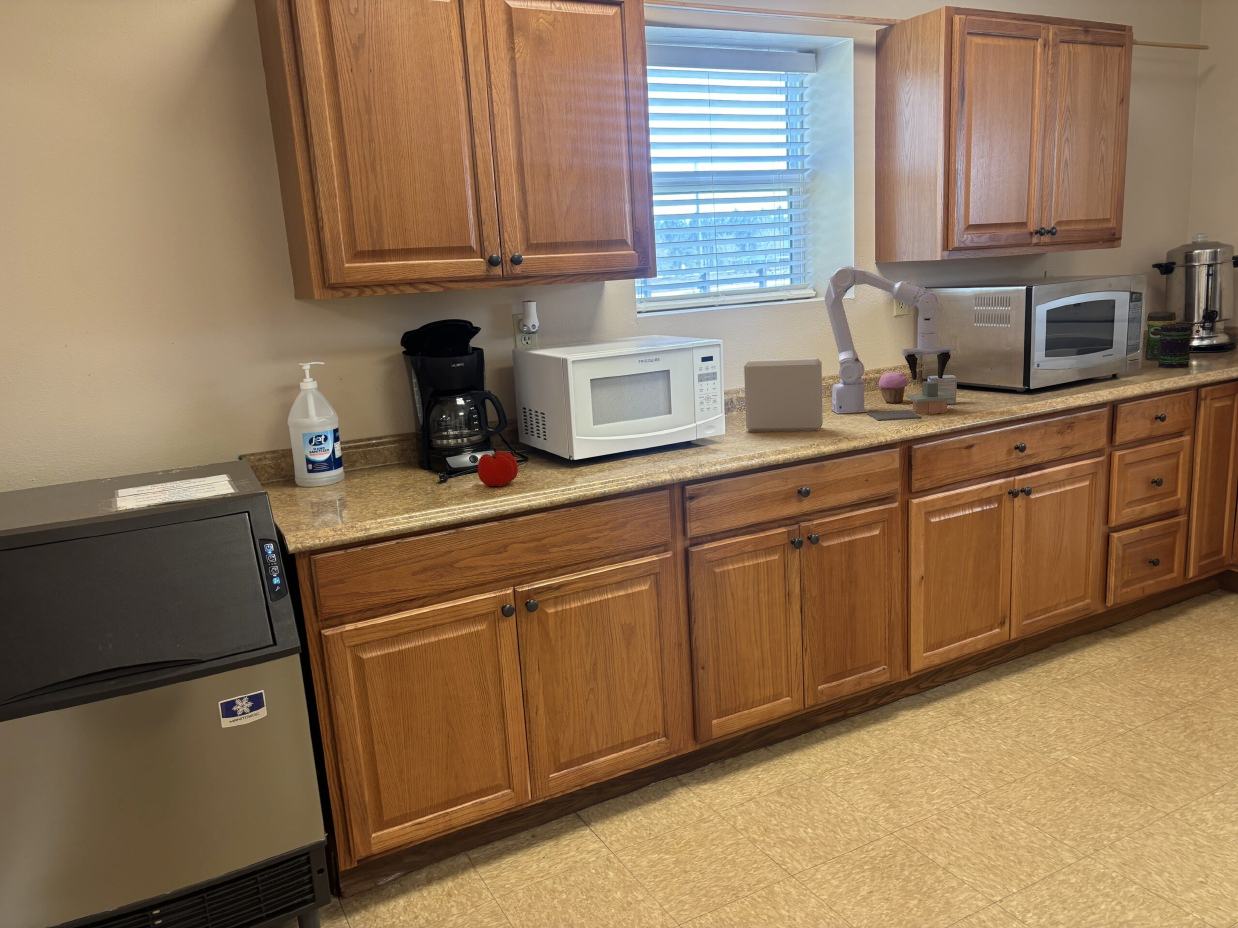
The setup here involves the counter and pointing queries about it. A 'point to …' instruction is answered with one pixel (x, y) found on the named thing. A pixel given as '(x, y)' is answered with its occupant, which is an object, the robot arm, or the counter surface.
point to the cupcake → (893, 386)
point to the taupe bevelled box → (783, 395)
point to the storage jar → (1174, 346)
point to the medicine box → (946, 385)
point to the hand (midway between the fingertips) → (927, 378)
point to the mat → (893, 415)
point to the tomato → (497, 468)
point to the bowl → (930, 407)
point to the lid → (930, 393)
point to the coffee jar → (1157, 331)
